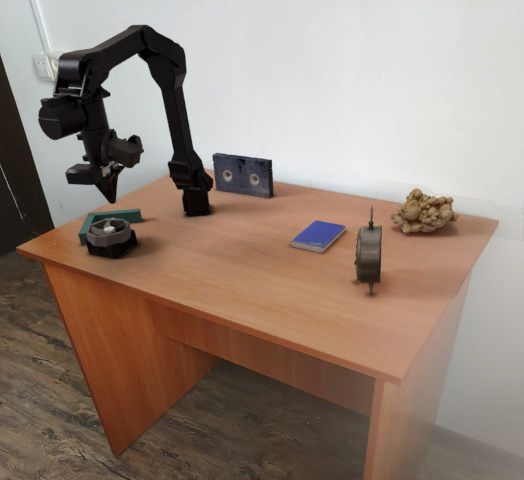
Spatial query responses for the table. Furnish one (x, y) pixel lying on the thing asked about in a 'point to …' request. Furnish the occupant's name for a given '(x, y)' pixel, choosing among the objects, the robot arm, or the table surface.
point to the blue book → (318, 236)
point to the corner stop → (91, 218)
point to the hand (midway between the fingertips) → (113, 203)
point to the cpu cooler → (110, 238)
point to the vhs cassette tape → (243, 174)
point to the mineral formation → (424, 212)
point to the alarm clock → (369, 254)
